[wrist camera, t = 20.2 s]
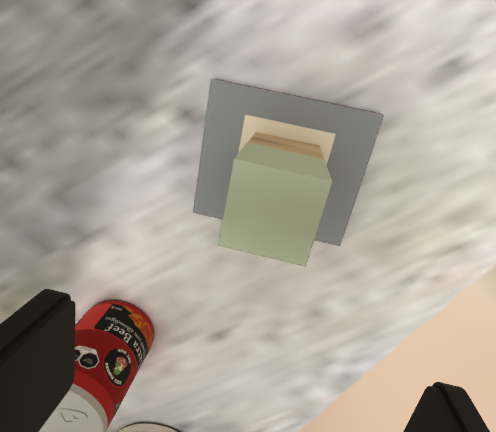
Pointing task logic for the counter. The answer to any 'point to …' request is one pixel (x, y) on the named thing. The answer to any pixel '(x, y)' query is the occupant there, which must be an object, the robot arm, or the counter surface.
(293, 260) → the sage block
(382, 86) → the counter surface
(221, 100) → the build board
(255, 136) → the oak block
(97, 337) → the canned food
